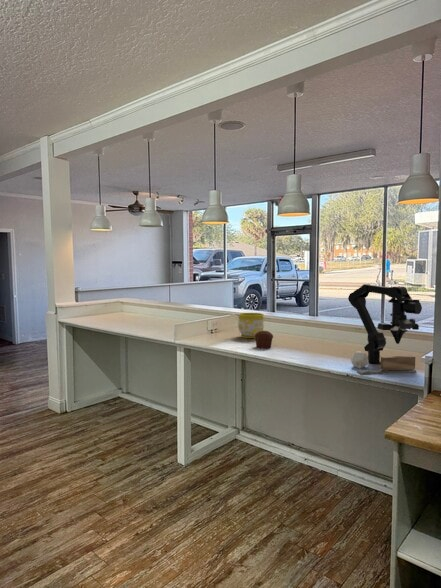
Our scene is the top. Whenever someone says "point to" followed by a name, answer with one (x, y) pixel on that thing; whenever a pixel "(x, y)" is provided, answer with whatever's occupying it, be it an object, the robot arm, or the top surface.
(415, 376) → the top surface
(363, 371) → the rail
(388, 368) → the wooden block
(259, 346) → the muffin
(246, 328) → the flowerpot
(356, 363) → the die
